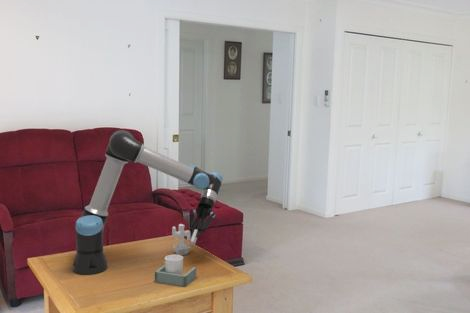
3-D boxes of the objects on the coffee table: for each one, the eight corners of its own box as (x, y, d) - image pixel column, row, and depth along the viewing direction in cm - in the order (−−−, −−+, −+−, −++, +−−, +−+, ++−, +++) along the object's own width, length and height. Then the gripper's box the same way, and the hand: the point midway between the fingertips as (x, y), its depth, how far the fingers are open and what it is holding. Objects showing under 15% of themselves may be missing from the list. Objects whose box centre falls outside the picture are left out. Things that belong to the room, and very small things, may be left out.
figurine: (192, 254, 239) (193, 225, 237) (175, 257, 234) (175, 227, 232) (187, 250, 245) (187, 221, 243) (170, 252, 241) (169, 223, 239)
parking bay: (154, 281, 203) (154, 271, 203) (166, 272, 214) (166, 263, 213) (185, 286, 199) (185, 276, 198) (196, 277, 209) (196, 267, 209)
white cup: (179, 284, 201) (179, 261, 200) (162, 282, 203) (161, 259, 202) (185, 277, 209) (185, 255, 208) (168, 275, 211) (168, 253, 209)
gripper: (221, 206, 235) (207, 248, 221) (197, 203, 239) (182, 244, 225) (218, 197, 229) (203, 240, 215) (193, 195, 233) (177, 237, 220)
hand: (192, 242), depth 220 cm, fingers closed
